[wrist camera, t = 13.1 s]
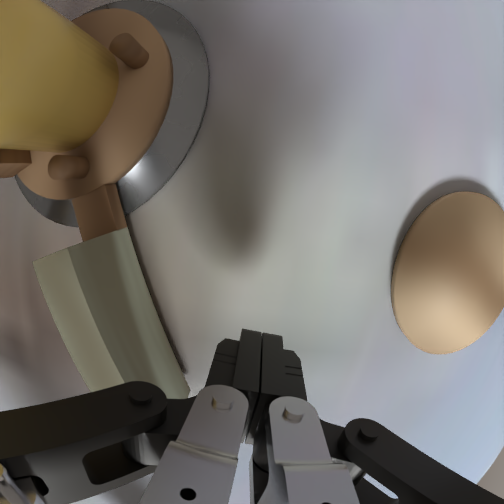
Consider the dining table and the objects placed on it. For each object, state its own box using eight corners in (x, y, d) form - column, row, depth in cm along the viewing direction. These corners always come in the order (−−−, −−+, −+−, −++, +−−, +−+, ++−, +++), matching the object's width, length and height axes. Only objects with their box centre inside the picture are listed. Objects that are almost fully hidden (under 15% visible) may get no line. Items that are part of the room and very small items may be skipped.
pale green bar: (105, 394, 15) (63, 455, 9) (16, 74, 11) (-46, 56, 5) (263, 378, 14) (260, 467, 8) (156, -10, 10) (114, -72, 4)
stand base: (179, 248, 13) (178, 249, 13) (1, 209, 13) (-2, 210, 13) (236, -2, 10) (235, -5, 10) (45, 21, 10) (43, 20, 10)
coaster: (479, 351, 14) (484, 355, 13) (367, 343, 14) (371, 349, 13) (522, 217, 12) (528, 218, 11) (415, 168, 12) (421, 168, 11)
